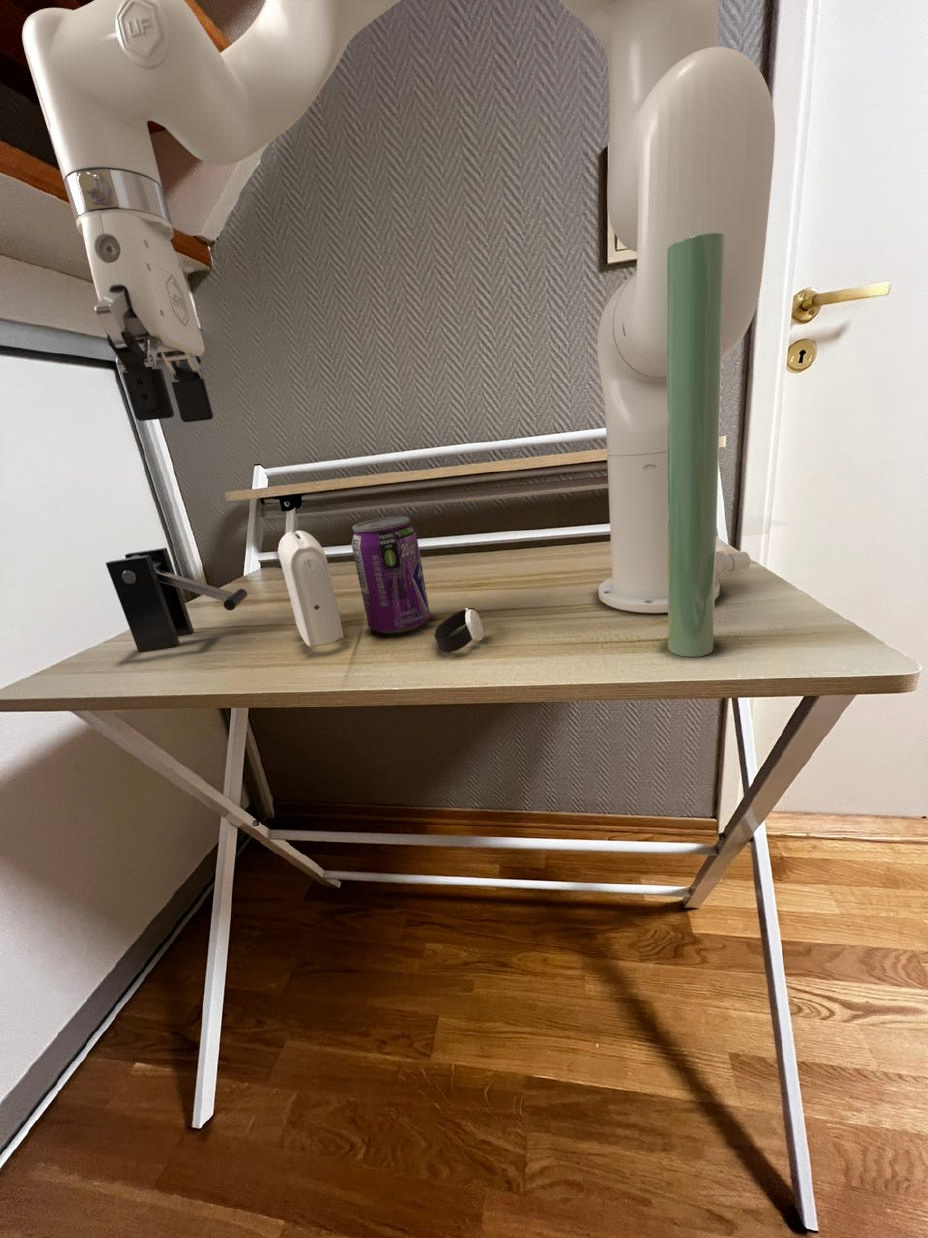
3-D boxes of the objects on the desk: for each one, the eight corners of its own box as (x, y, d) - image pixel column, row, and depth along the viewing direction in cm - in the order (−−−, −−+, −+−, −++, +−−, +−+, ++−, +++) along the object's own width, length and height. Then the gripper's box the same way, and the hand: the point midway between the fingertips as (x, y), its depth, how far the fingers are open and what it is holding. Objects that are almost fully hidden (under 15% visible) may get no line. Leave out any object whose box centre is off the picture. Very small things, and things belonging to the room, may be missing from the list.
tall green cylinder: (700, 637, 48) (707, 247, 38) (721, 653, 45) (735, 229, 34) (661, 643, 48) (657, 253, 38) (679, 659, 45) (680, 236, 34)
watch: (475, 657, 51) (470, 621, 49) (427, 658, 52) (421, 623, 50) (489, 626, 58) (485, 594, 56) (447, 628, 59) (442, 597, 57)
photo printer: (350, 647, 57) (324, 533, 53) (310, 659, 56) (280, 542, 51) (331, 622, 66) (308, 522, 62) (296, 631, 65) (270, 530, 60)
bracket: (217, 635, 67) (188, 543, 63) (197, 654, 62) (164, 555, 58) (145, 646, 67) (111, 554, 63) (119, 666, 61) (80, 567, 57)
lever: (245, 604, 65) (249, 586, 65) (232, 616, 61) (237, 597, 60) (137, 571, 63) (141, 552, 62) (117, 581, 59) (120, 561, 58)
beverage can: (421, 636, 57) (402, 525, 53) (360, 639, 59) (336, 532, 55) (437, 613, 64) (421, 512, 60) (382, 616, 66) (362, 519, 62)
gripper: (113, 163, 39) (180, 413, 45) (203, 241, 55) (244, 417, 61) (8, 173, 39) (89, 423, 45) (129, 249, 55) (177, 425, 61)
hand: (178, 419), depth 53 cm, fingers open, 9 cm apart
